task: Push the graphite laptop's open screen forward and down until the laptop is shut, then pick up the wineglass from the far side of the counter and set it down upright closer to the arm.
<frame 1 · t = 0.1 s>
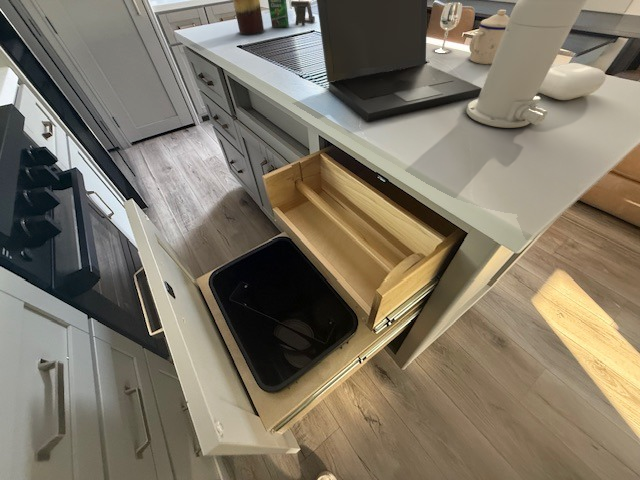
wineglass: (441, 52, 89), on the counter
vase: (252, 32, 119), on the counter
laptop screen: (376, 24, 67), point 12 cm above the counter, hinge at 110.0°
laptop: (400, 92, 67), on the counter
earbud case: (559, 94, 63), on the counter
tablet stand: (303, 24, 128), on the counter
teacup with lid: (480, 61, 81), on the counter
coffee box: (280, 27, 124), on the counter
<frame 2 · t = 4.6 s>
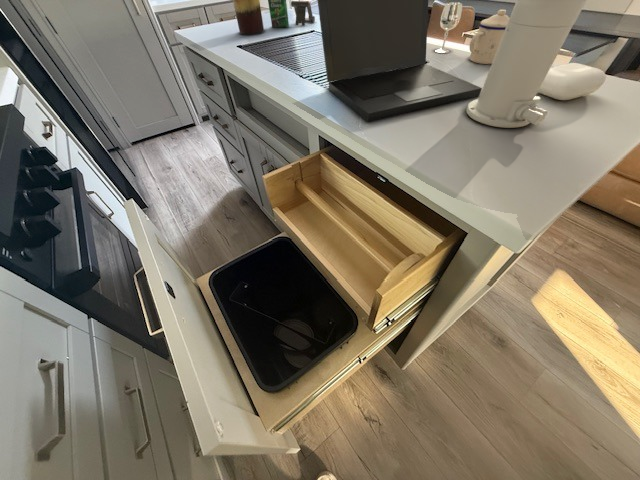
laptop screen: (377, 23, 67), point 12 cm above the counter, hinge at 108.2°, touching gripper
everything else where it was.
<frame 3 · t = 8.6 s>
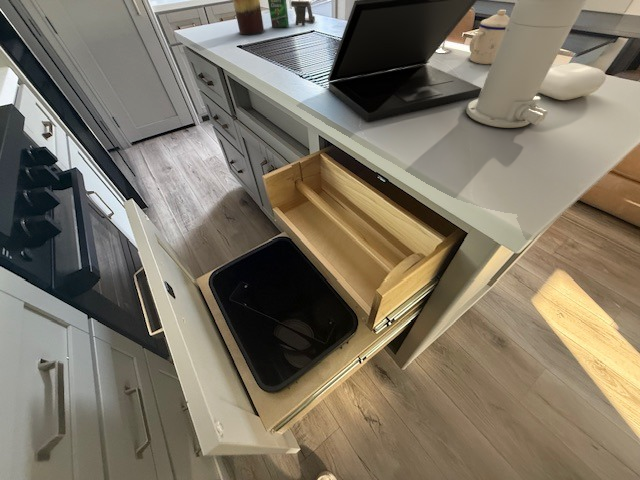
hand: (412, 6, 55), 16 cm above the counter, tool pointing down, fingers closed
laptop screen: (398, 39, 62), point 10 cm above the counter, hinge at 50.9°, touching gripper
everything else where it was.
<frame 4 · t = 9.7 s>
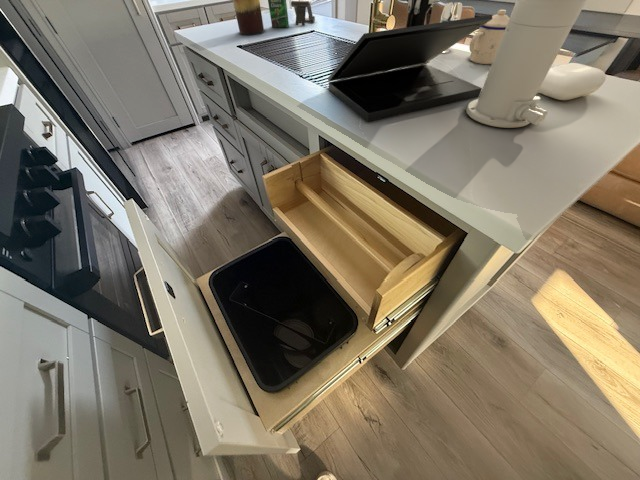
hand: (412, 36, 57), 12 cm above the counter, tool pointing down, fingers closed
laptop screen: (401, 51, 62), point 8 cm above the counter, hinge at 34.8°, touching gripper
everything else where it was.
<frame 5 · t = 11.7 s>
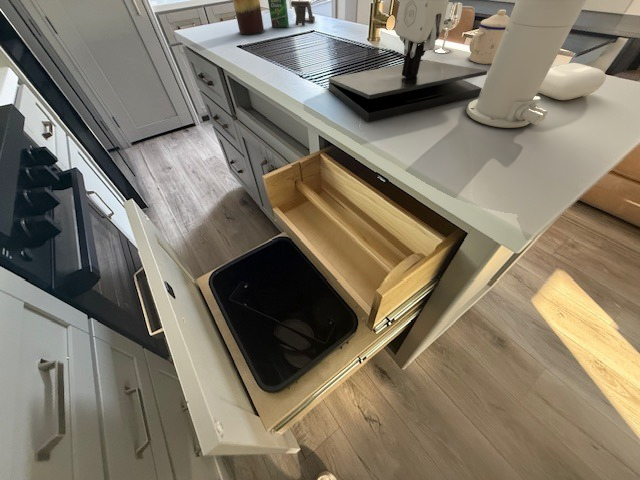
hand: (409, 75, 62), 4 cm above the counter, tool pointing down, fingers closed
laptop screen: (402, 76, 64), point 4 cm above the counter, hinge at 7.1°, touching gripper
everything else where it was.
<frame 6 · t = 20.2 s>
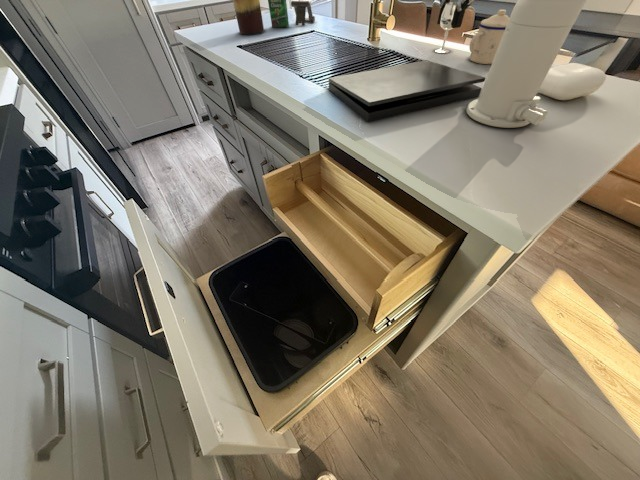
hand: (448, 24, 84), 7 cm above the counter, tool pointing down, fingers closed on wineglass, 5 cm apart
wineglass: (441, 51, 89), on the counter, touching gripper
laptop screen: (402, 79, 65), point 3 cm above the counter, hinge at 3.4°, touching laptop
everything else where it was.
when the fingers open (7 cm above the counter, at t = 27.8 s): wineglass stays where it is, on the counter.
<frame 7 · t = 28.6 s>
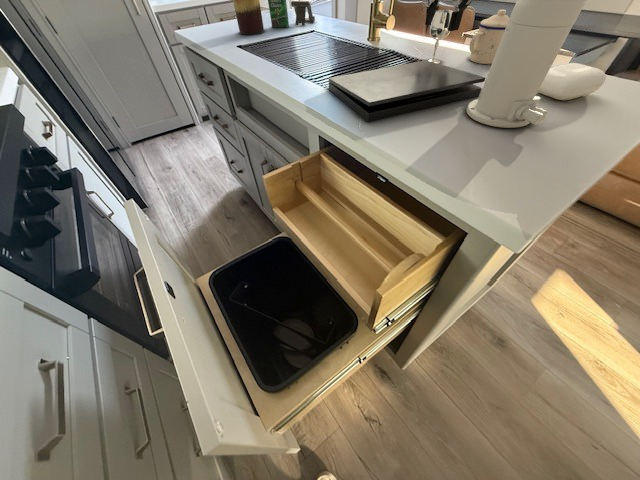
hand: (441, 27, 75), 9 cm above the counter, tool pointing down, fingers open, 9 cm apart
wineglass: (432, 63, 82), on the counter
everything else where it was.
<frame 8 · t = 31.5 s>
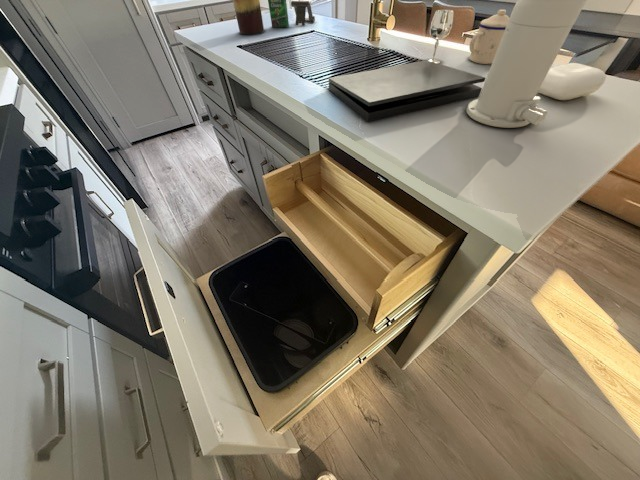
nothing on the counter moved.
at the end: laptop screen at +3° (first picture: +110°); wineglass inside the target area (0.0 cm from its centre), on the counter; wineglass tilted 0° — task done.
